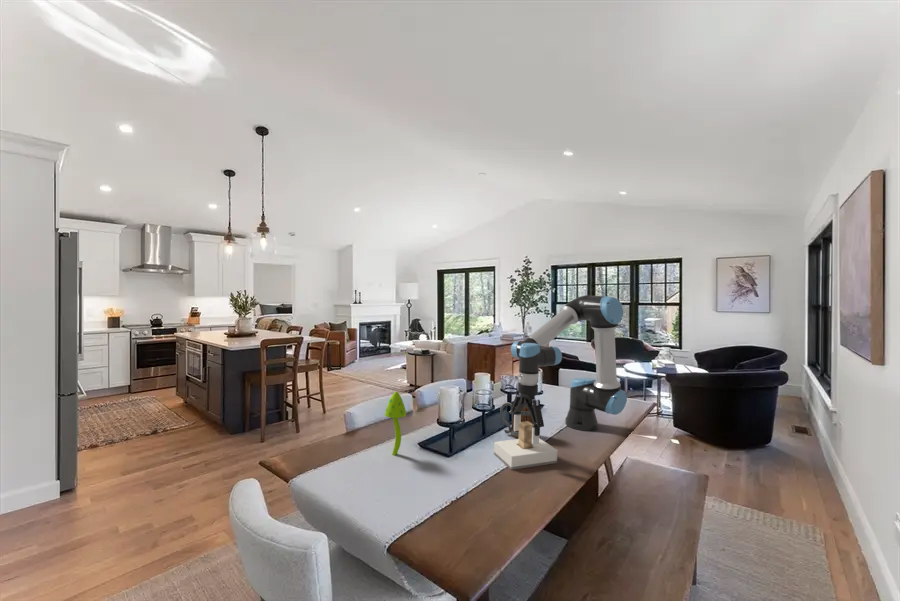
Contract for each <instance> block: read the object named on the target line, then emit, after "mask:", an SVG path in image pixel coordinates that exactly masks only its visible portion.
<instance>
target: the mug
mask: <svg viewBox="0 0 900 601" xmlns="http://www.w3.org/2000/svg"><path fill="white" fill-rule="evenodd" d="M512 405H513V403H511V402H508V401H506V402H505V401H504V402H503V403H502V404H501V406H500V409H499V414H500V418H501V420H502V422H503V423H504V424H505V425H506V427H507V428H503V430H504V433H505V434H507V435H508V434H510V436H511V437H512V438H514V439H518V438H519V431H514V413H513V411H511V408H512ZM505 406H510V411H508V412H509V414H510V415H511V414H512V419H511V424H510V423H509V422H508V421H507V420H506V419H505V417H504V414H503V409H504V408H505ZM532 407H533V406H532ZM515 408H516V407H515ZM526 421H528V422H530V423H532V424H533V421H532V418H531V415H530V412H529V410H527V408H526V407H525V406H524V408H523V409H522V411H521V422H526ZM533 426H534V424H533Z"/></svg>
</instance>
